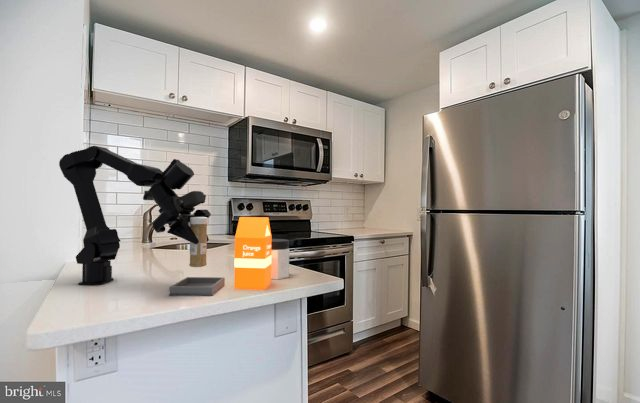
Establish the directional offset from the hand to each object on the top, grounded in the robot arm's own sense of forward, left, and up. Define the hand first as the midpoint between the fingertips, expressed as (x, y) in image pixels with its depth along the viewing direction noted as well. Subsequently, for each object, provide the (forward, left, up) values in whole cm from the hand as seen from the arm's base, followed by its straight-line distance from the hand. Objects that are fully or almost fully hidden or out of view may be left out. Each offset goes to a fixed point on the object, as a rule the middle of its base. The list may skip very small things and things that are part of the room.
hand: (202, 242), depth 88 cm
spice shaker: (-1, 0, -7) cm, 7 cm away
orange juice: (+13, +6, -13) cm, 19 cm away
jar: (+18, +18, -13) cm, 28 cm away
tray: (-1, +1, -13) cm, 13 cm away
